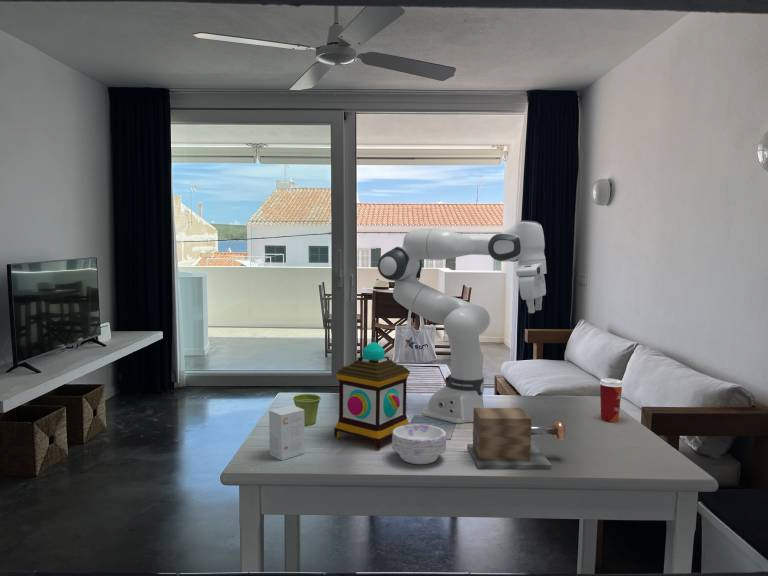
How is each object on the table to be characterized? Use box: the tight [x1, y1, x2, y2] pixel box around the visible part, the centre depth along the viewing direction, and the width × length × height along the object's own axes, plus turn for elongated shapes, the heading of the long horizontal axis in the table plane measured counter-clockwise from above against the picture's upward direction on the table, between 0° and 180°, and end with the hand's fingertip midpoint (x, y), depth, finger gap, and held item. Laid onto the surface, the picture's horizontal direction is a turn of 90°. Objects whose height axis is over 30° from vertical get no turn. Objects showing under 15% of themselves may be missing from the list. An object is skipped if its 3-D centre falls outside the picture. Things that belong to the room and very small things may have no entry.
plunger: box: [531, 420, 566, 441], centre depth 158 cm, size 17×6×5 cm, turn 92°
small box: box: [268, 405, 306, 461], centre depth 159 cm, size 8×6×13 cm
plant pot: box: [292, 393, 322, 426], centre depth 188 cm, size 9×9×9 cm
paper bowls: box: [391, 423, 447, 465], centre depth 157 cm, size 15×15×8 cm
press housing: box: [466, 407, 553, 470], centre depth 158 cm, size 20×16×13 cm
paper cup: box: [599, 377, 624, 423], centre depth 195 cm, size 8×8×14 cm
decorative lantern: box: [333, 341, 411, 451], centre depth 174 cm, size 20×20×30 cm
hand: (535, 311), depth 183 cm, fingers open, 8 cm apart
